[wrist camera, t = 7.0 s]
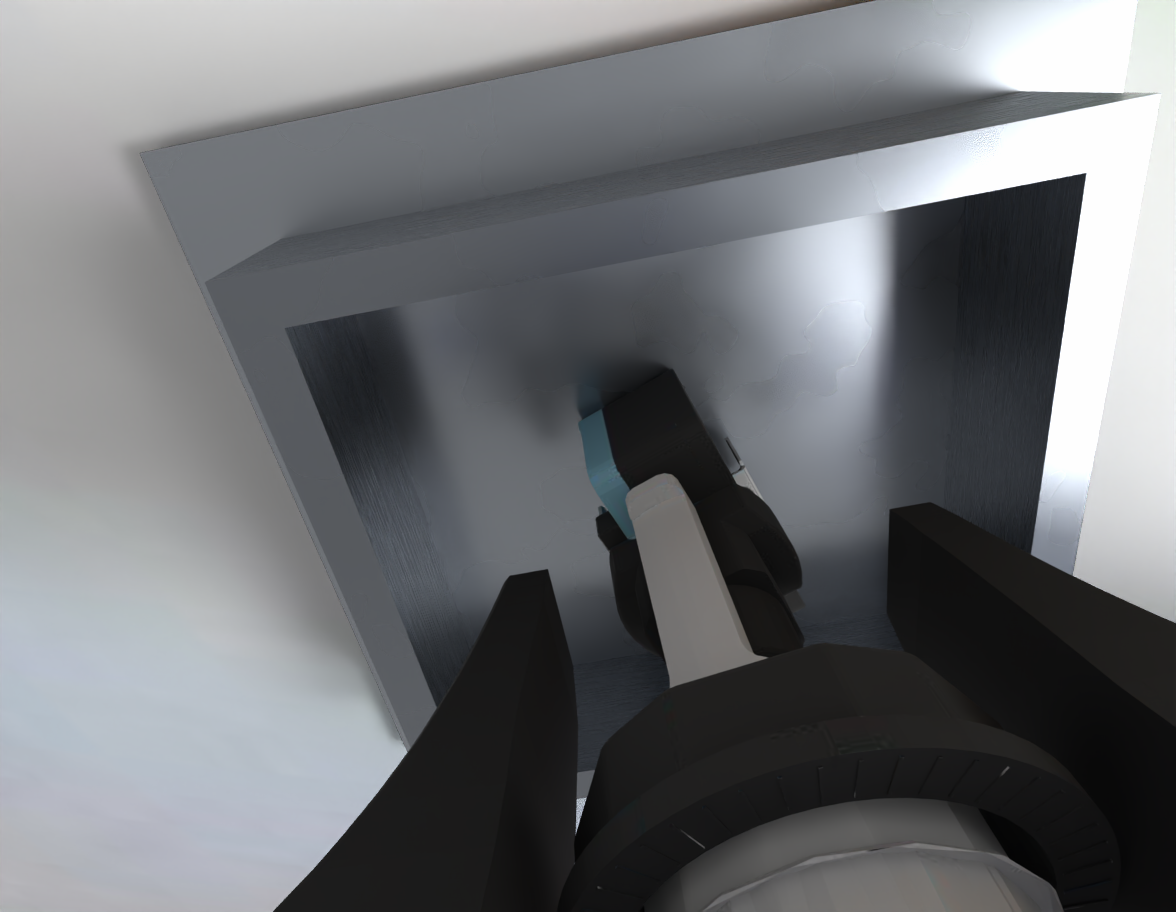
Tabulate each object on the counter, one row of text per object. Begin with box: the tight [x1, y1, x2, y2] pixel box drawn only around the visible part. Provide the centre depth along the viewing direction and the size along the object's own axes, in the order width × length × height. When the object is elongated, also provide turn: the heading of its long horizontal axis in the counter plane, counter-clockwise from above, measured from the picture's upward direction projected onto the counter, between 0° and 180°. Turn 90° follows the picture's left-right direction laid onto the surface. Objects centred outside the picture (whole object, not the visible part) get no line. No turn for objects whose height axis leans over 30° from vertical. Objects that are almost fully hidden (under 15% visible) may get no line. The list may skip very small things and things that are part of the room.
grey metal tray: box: [140, 0, 1161, 799], centre depth 13 cm, size 16×15×4 cm
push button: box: [557, 369, 1121, 912], centre depth 10 cm, size 7×5×10 cm
